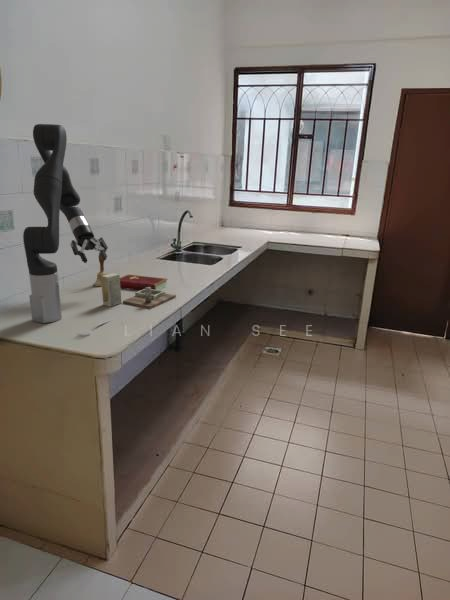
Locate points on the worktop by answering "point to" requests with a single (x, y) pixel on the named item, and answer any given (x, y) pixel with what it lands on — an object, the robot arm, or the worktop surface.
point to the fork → (95, 327)
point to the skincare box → (111, 289)
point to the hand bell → (98, 281)
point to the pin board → (148, 305)
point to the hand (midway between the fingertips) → (95, 260)
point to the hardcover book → (142, 282)
